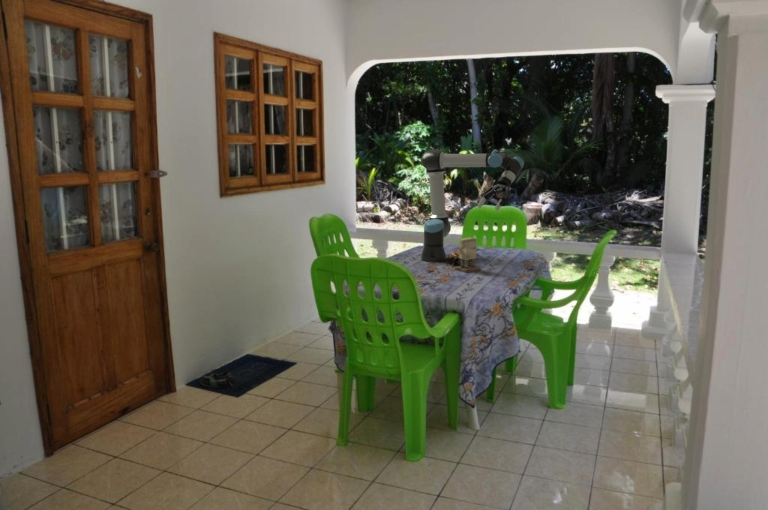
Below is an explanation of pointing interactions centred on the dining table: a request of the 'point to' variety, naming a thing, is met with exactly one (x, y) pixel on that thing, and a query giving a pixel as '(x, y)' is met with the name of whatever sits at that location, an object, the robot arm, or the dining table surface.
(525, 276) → the dining table surface
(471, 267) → the stand
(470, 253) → the beige mottled block
